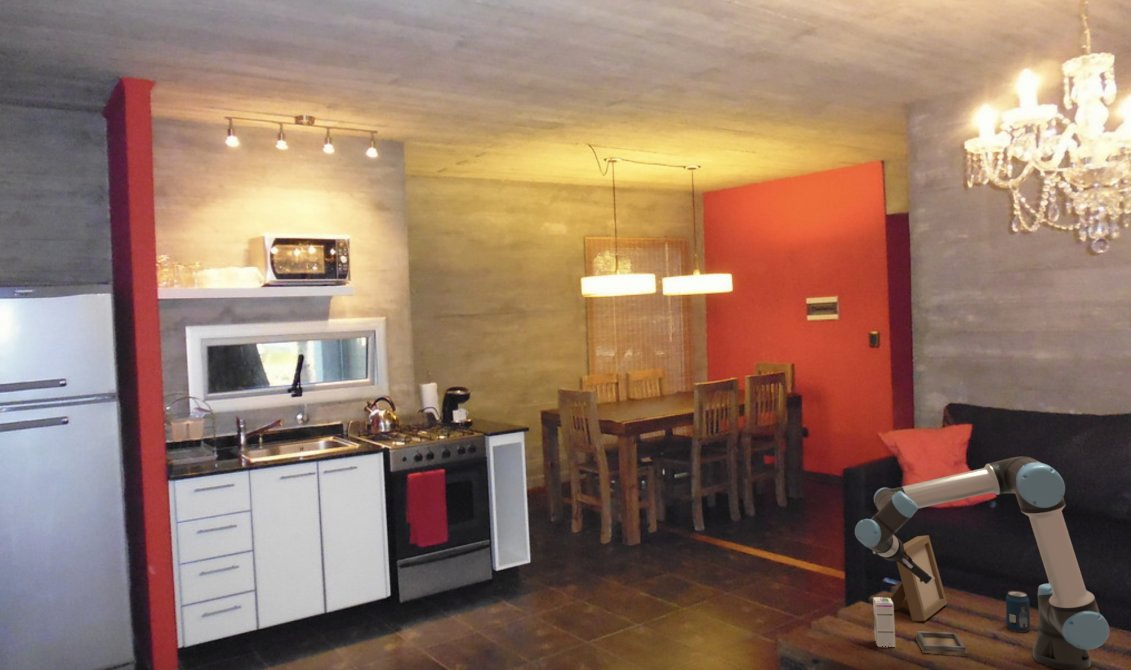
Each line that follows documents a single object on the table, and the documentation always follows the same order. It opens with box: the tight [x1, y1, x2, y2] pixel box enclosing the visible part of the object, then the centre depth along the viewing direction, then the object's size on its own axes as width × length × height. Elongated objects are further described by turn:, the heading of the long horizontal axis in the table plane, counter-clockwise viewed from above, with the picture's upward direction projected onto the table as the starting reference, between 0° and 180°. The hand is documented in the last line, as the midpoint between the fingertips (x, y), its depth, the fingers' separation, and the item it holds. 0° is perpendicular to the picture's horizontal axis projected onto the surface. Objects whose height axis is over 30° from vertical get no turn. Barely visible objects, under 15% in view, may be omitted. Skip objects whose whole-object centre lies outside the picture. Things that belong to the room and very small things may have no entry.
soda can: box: [1005, 590, 1031, 633], centre depth 280 cm, size 7×7×12 cm
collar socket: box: [914, 630, 969, 657], centre depth 267 cm, size 13×13×2 cm
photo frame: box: [889, 535, 948, 622], centre depth 300 cm, size 15×22×25 cm
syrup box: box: [872, 596, 896, 648], centre depth 271 cm, size 6×6×14 cm
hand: (916, 565), depth 269 cm, fingers open, 13 cm apart
